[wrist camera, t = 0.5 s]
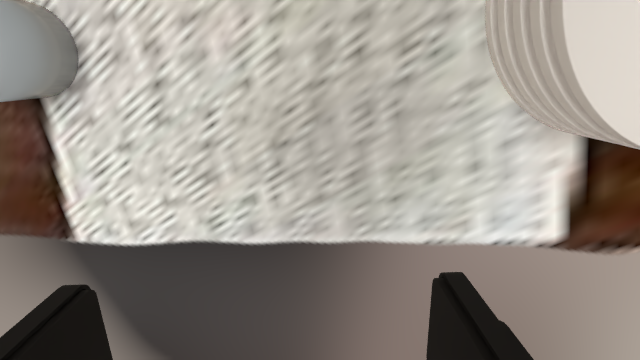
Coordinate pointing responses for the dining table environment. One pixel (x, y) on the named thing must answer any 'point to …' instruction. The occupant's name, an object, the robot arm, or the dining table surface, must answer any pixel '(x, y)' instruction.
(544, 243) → the dining table surface
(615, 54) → the plate stack
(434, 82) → the dining table surface
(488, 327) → the robot arm
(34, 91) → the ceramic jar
